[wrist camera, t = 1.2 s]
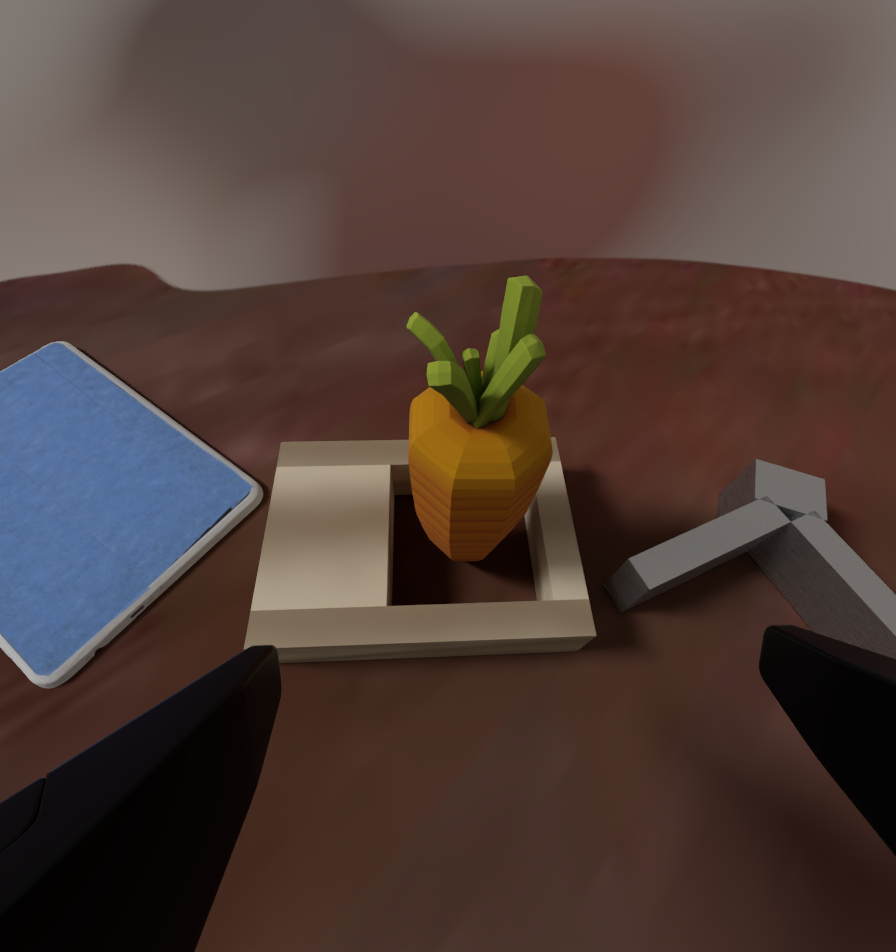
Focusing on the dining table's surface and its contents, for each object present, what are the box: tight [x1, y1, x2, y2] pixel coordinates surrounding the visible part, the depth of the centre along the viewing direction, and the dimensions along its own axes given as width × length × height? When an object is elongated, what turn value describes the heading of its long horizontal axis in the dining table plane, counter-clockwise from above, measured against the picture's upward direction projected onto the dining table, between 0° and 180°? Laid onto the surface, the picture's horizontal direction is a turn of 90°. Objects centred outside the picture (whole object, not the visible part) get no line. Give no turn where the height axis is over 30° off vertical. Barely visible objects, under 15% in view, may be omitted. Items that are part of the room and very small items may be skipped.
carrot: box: [407, 276, 553, 561], centre depth 17 cm, size 5×5×15 cm
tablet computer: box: [0, 342, 263, 689], centre depth 25 cm, size 19×13×1 cm, turn 54°
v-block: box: [603, 459, 896, 659], centre depth 22 cm, size 9×13×4 cm, turn 69°
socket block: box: [244, 437, 596, 663], centre depth 22 cm, size 10×14×3 cm
